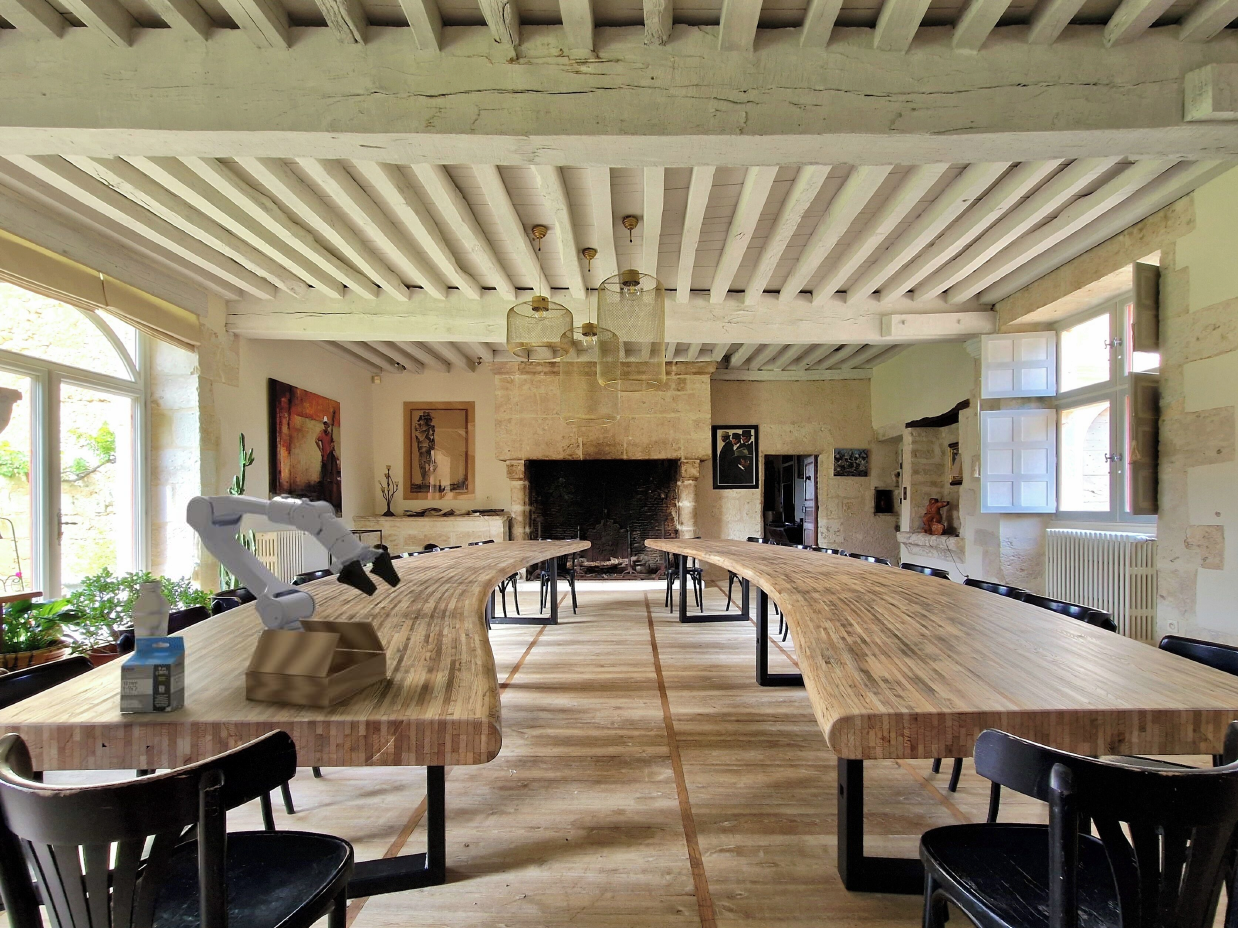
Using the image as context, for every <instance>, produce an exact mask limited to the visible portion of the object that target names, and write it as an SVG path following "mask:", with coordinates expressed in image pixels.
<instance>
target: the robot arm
mask: <svg viewBox="0 0 1238 928" xmlns="http://www.w3.org/2000/svg"><path fill="white" fill-rule="evenodd" d="M291 496H292V495H290V494H281V495H280V496H276V497H274V498H272V499H271V500H269V499H264V498H260V497H254V496H251V495H246V494H245V495H244V494H228V495H211V496H203V495H196V496H193V497H192V498H191V499H189V500H188V501H189V502H188V503H187V506H186V513H185V514H186V517H185V518H186V519H185V520H186V523H187V524H188V525H189V527H191V528H192V529H193V530H194V531H195V532H196V533H197V534H198V536H199V538H200V540H201V542H202V544H203V546H204V548H205V549H206V550H207V552H209V554H210V555H212V556H213V557H214V558H215V559H216V560H217V561H218V562H219V563H220V564H221V565H222V566H223V567H225V569H226V570H227V571H228V572H229V573H230V574H232V576H233V577H234V578H236V579H237V580H238V581H239V582H240V583H241V584H242V585H243V586H244V588H246V589H247V590H248V591H249V592H250V593H251V594H252V595H254V597H256V599H257V600H256V602H255V604H254V610H255V612H256V613H257V614H258V615H259V617H260V620H261V622H262V624H263V625H264V626H265V628H264V629H269V630H287V631H304V629H303V627H302V625H301V623H300V621H299V619H300V618H302V619H312V618H311V617H313V616H314V615H315V613H316V610H317V601H316V598H315V596H314V595H313V594H312V593H311V592H309V591H307V590H303V589H301V588H300V587H299V586H297V585H295V584H291V583H288V582H284V581H282V580H281V579H280V578H279V577H278V576H276V575H275V573H274V572H272V571H271V570H270V569H269V568H268V567H267V566H266V565H265V564H264V563H263V562H261V560H260V559H259V558H257V557H256V556H255V555H254V554H253V553H252V552H251V551H250V550H249V549H248V548H247V547H246V546H245V545H244V544H243V543H242V542H241V541H239V539H237V537H236V536H238V535H239V534H240V530H241V526H242V523H243V519H244V515H247V514H252V515H260V516H266V517H267V519H268V521H270V522H271V523H275V524H280V525H285V526H291V527H295V528H296V530H298V531H301V532H307V533H308V534H310V535H311V536H313V537H314V538H315V539H316V540H317V542H318V543H320V544H321V545H322V546H323V547H324V548H325V550H327V552H328V553H329V554H330V555H331V556H332V557H333V558H334V559H335V560H334V561H333V562H332V563H331V564H330V566H329V567H328V570H330V572H331V573H332V574H333V575H337V578H336V581H337V582H338V583H339V584H341V585H342V584H343V585H347V586H349V587H352V588H354V589H356V590H358V591H360V592H361V593H363V594H365V595H367V596H369V597H373V595H374V594H375V593H376V591H377V590H378V587H377V584H375V582H374V581H373V580H372V579H371V577H370V576H369V575H368V574H367V572H366V571H365V569H364V568H363V566H365V565H369V564H371V566H372V567H371V569H370V570H369V571H368V573H369V574H372V575H375V576H376V577H378V578H380V579H381V580H383V581H384V582H385V583H386V584H388V585H389V586H390V587H392V588H393V589H394V588H397V586H399V584H400V582H401V581H402V580H401V578H400V577H399V574H398V573H397V570H396V568H395V567H394V564H393V562H392V559H391V558H392V557H391V553H390V552H389V551H388V550H385V551H384V550H383V549H381V548H380V549H376V548H372V545H371V544H370V543H367V544H364V543H362V542H361V540H359V539H358V537H356V536H355V535H354V534H353V532H352V531H350V529H349V528H348V527H346V525H344V523H342V521H340V519H339V518H337V516H336V512H335V508H334V506H333V505H332V504H331V503H330V502H327V501H325V500H319V501H310V499H309V498H307V497H305V498H304V497H303V498H301V499H298V498H292V497H291ZM262 632H263V629H262V631H261V632H260V633H259V635H258V638H257V644H258V641H259V639H260V637H261V634H262ZM257 644H256V645H257Z"/></svg>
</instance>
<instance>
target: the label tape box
mask: <svg viewBox="0 0 1238 928" xmlns="http://www.w3.org/2000/svg"><path fill="white" fill-rule="evenodd" d="M159 642H162V643H163V644H164V643H167V644H168V646H167V647H153V646H152V645H153V644H158V643H159ZM136 650H137V651H136V652H135V653H134V652H133V654H132V655H131V656H130V657H129V658H128V659H127V660H126V661H124V662H123V663H122V664H121V666H120V695H119V696H120V700H119V701H120V702H119V705H120V706H119V713H120V712H141V713H154V712H153V711H162V712H172V711H175V710H176V708H177V709H179V708H180V707H179V706H181V707H182V706H184V705H185V696H186V695H185V692H186V691H185V690H186V689H185V688H186V687H185V685H186V684H185V681H186V679H185V678H186V677H185V676H186V675H185V671H186V670H185V669H186V668H185V667H186V666H185V660H186V657H185V656H186V651H185V650H186V649H185V641H184V636H179V635H178V636H167V637H152V638H136ZM178 707H179V708H178ZM174 709H175V710H174ZM171 710H172V711H171Z"/></svg>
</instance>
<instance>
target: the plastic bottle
mask: <svg viewBox="0 0 1238 928" xmlns="http://www.w3.org/2000/svg"><path fill="white" fill-rule="evenodd" d="M161 591H163V582H162V580H159V579H158V580H148V581H147V580H146V581H141V582H139V590H138V592H139V593H140V595H139V596H138V598H137V599H136V600H135V602H134V603H133V605H132V607H131V618H132V623H133V629H134V652H133V654H134V653H135V652H136V651H137V650H136V638H152V637H168V629H169V628H168V627H169V618H170V617H169V616H170V613H171V611H170V610H171V603H170V601H169V600H168V599H167V597H166V596H165V595H164V594H163V593H162V592H161ZM152 646H153V647H167V646H169V644H167V643H164V644H163V643H162V642H159V643H158V644H153V645H152Z"/></svg>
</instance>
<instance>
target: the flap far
mask: <svg viewBox="0 0 1238 928" xmlns="http://www.w3.org/2000/svg"><path fill="white" fill-rule="evenodd" d="M299 621H300V623H301V625H302V627H303V629H304V631H306V632H324V633H340V637H339V640H338V643H337V646H336V649H338V650H354V651H370V652H385V651H386V648H385V647H384V645H383V643H382V641H381V639H380V636H379V634H378V632H377V631H376V628H375V626H374V624H373V621H365V620H364V621H363V620H341V619H340V620H339V619H323V618H321V619H319V618H310V619H302V618H300V619H299Z"/></svg>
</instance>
